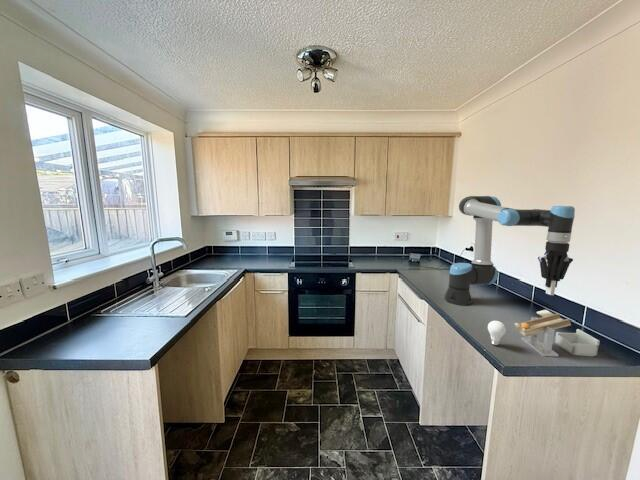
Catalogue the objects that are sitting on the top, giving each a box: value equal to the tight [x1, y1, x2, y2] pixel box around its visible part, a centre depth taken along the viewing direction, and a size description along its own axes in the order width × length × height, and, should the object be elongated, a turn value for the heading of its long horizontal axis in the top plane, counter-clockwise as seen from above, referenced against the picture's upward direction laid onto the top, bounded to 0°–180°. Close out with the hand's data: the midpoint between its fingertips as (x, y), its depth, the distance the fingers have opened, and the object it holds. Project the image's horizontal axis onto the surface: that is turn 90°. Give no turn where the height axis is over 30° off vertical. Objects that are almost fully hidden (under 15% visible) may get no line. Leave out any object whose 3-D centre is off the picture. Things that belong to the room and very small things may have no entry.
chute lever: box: [514, 309, 572, 337], centre depth 115 cm, size 14×18×4 cm
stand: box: [520, 316, 559, 358], centre depth 112 cm, size 13×6×12 cm, turn 175°
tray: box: [553, 328, 600, 357], centre depth 112 cm, size 10×9×7 cm
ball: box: [521, 322, 530, 329], centre depth 112 cm, size 3×3×3 cm
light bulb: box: [487, 320, 507, 346], centre depth 114 cm, size 7×7×11 cm
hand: (549, 294), depth 116 cm, fingers closed
